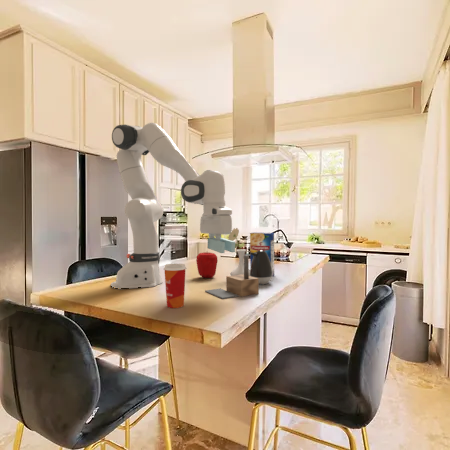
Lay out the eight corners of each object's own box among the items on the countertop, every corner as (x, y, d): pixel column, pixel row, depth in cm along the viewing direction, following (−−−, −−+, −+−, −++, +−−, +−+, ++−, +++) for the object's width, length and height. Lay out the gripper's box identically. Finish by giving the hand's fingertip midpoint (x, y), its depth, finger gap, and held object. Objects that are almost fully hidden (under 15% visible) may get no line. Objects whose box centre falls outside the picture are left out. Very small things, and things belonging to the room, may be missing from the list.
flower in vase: (244, 274, 166) (243, 227, 165) (257, 277, 156) (257, 227, 156) (223, 277, 159) (222, 227, 158) (235, 280, 149) (235, 228, 149)
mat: (222, 299, 115) (222, 297, 115) (205, 291, 127) (205, 290, 127) (238, 296, 119) (238, 295, 119) (220, 289, 131) (220, 288, 131)
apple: (192, 277, 158) (192, 250, 157) (206, 275, 165) (206, 249, 165) (207, 280, 151) (207, 252, 150) (221, 277, 158) (221, 250, 158)
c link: (207, 248, 126) (207, 238, 125) (220, 247, 129) (220, 237, 129) (221, 253, 117) (221, 242, 116) (234, 252, 120) (235, 241, 119)
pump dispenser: (245, 282, 145) (245, 249, 145) (265, 280, 150) (264, 248, 149) (256, 286, 136) (256, 251, 136) (276, 284, 140) (276, 250, 140)
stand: (241, 296, 119) (241, 256, 118) (226, 290, 128) (226, 254, 128) (258, 293, 123) (258, 255, 123) (242, 288, 132) (242, 253, 132)
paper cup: (165, 303, 110) (164, 263, 110) (187, 302, 111) (186, 262, 111) (162, 309, 103) (162, 266, 102) (186, 308, 103) (185, 266, 103)
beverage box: (271, 277, 158) (270, 233, 157) (250, 275, 162) (249, 233, 162) (274, 274, 164) (274, 232, 164) (254, 273, 168) (254, 232, 168)
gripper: (196, 211, 134) (196, 244, 134) (220, 209, 116) (220, 247, 116) (209, 211, 137) (209, 243, 137) (234, 209, 119) (235, 246, 120)
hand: (215, 245), depth 127 cm, fingers closed on c link, 2 cm apart
